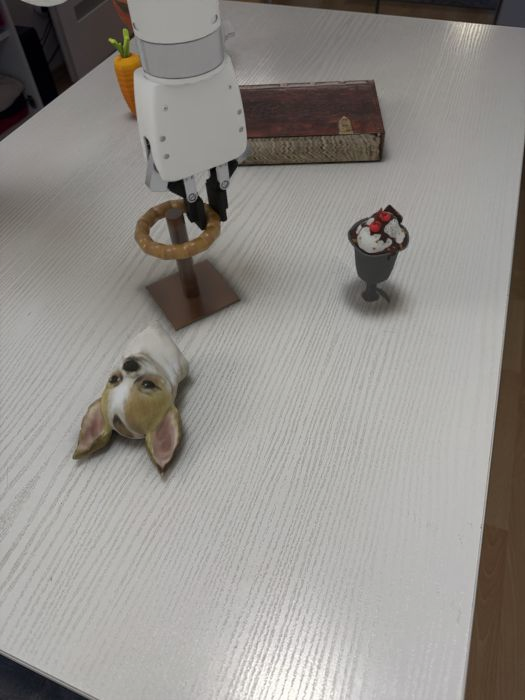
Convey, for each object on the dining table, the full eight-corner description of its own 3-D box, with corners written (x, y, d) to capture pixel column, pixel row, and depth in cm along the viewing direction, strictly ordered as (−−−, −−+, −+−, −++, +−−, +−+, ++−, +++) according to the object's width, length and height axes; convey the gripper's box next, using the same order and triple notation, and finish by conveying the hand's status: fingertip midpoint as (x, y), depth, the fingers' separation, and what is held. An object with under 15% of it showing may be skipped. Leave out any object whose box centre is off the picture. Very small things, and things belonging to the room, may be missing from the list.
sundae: (355, 326, 64) (366, 224, 53) (334, 289, 69) (341, 186, 57) (406, 313, 65) (428, 209, 54) (383, 277, 70) (398, 173, 58)
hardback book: (371, 104, 98) (374, 76, 94) (381, 162, 86) (385, 132, 82) (212, 111, 100) (209, 83, 96) (201, 168, 88) (196, 139, 84)
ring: (158, 274, 57) (155, 263, 56) (124, 228, 63) (120, 216, 61) (236, 239, 60) (235, 228, 59) (197, 198, 65) (195, 186, 64)
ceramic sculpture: (202, 315, 55) (153, 449, 46) (215, 364, 62) (175, 488, 53) (105, 304, 57) (42, 430, 48) (128, 352, 64) (77, 470, 55)
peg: (176, 336, 65) (153, 251, 55) (146, 292, 70) (120, 207, 60) (241, 305, 68) (230, 218, 58) (207, 265, 73) (192, 180, 63)
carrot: (134, 130, 97) (112, 40, 86) (123, 119, 100) (100, 31, 89) (159, 121, 99) (140, 32, 87) (147, 111, 102) (127, 23, 90)
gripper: (237, 14, 53) (251, 181, 67) (82, 59, 48) (132, 228, 62) (279, 39, 48) (284, 211, 62) (113, 91, 44) (159, 264, 58)
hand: (208, 218), depth 62 cm, fingers closed on ring, 2 cm apart
